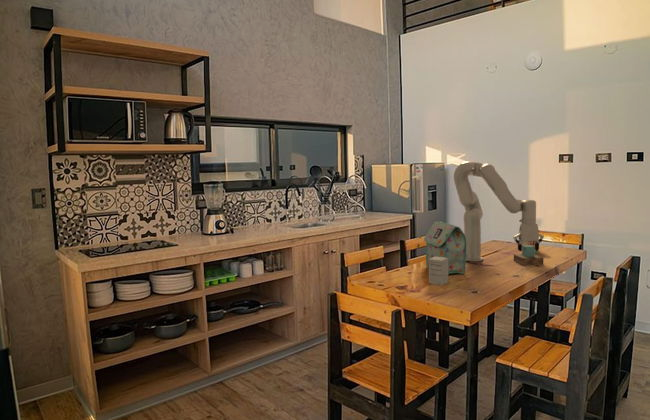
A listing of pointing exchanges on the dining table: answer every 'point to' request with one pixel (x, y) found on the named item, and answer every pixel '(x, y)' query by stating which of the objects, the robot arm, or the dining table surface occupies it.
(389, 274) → the dining table surface
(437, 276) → the supplement box
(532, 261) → the walnut block
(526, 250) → the teal block
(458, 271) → the lunch bag
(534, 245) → the stack of blocks
